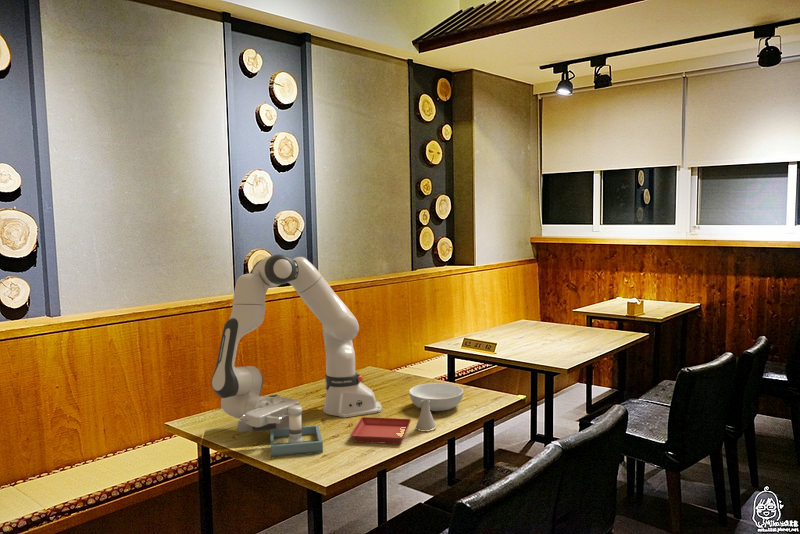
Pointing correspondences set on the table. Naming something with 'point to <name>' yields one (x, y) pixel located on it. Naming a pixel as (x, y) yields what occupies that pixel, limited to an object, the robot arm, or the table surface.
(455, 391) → the serving bowl
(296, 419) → the cylinder
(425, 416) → the flask
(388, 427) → the plant saucer
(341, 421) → the table surface
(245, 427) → the board
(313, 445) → the tray
